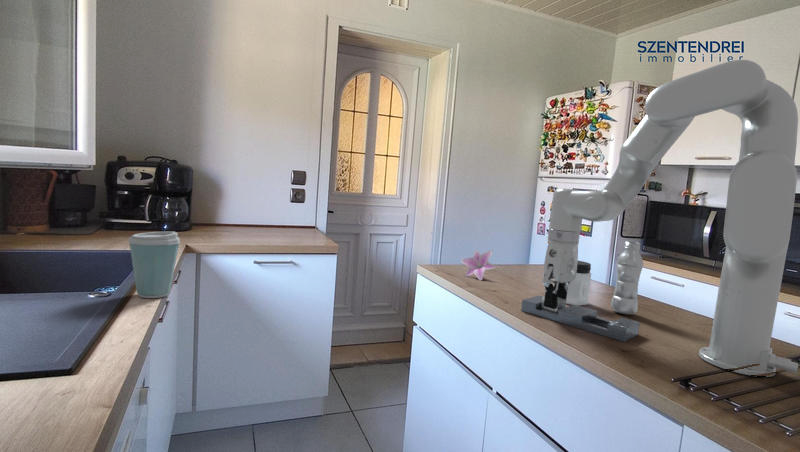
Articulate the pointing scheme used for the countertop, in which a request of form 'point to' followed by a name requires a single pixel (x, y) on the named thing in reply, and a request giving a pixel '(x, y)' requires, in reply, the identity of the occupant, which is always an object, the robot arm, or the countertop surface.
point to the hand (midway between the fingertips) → (554, 305)
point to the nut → (560, 305)
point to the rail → (584, 319)
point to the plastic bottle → (627, 279)
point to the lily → (478, 264)
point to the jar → (580, 285)
